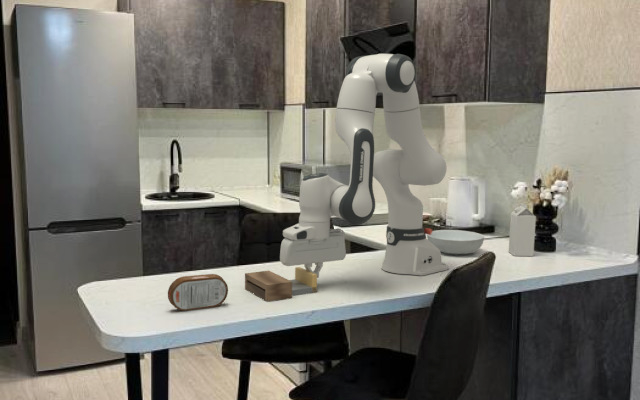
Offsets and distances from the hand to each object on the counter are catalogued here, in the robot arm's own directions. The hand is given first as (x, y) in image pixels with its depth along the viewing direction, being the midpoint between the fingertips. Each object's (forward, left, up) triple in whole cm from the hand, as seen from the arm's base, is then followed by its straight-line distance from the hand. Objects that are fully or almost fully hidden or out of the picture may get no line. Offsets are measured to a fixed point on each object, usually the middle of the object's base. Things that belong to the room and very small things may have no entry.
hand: (313, 277), depth 173 cm
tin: (+36, +4, -3) cm, 36 cm away
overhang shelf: (+14, 0, -3) cm, 15 cm away
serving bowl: (-72, -18, -3) cm, 75 cm away
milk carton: (-92, -4, -3) cm, 92 cm away
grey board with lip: (+7, 0, -3) cm, 8 cm away
